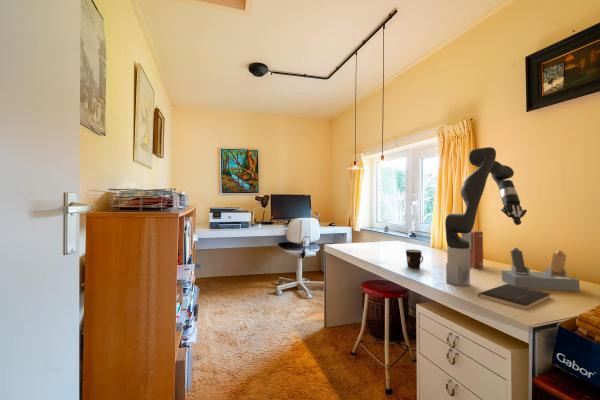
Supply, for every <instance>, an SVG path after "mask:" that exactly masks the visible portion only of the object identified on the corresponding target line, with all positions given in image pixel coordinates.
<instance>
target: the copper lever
mask: <svg viewBox="0 0 600 400" xmlns="http://www.w3.org/2000/svg"><path fill="white" fill-rule="evenodd" d="M566 260H567V254H565V252H563V251H562V250H556V252H555V253H552V260H551V265H550V269H552V275H561V276H563V271H564V269H565V265H566Z"/></svg>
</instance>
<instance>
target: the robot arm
mask: <svg viewBox="0 0 600 400" xmlns="http://www.w3.org/2000/svg"><path fill="white" fill-rule="evenodd" d="M496 158H497V152H496V149H495V147H491V146H488V147H487V146H486V147H480V148H474V149H472V150H470V152H469V154H468V161H469V163H470V164H471V165H472V166H474V167H477V169H475V170H474V171H473V172H471V174H469V175H468V176H467V177H466V178H465V179H464V180H463V181H464V182H463V184H462V187H461V189H460V195H461V197H462V199H463V202H464V203H465V206H466V208H465V211H464V213H452V212H451V213H449V214H447V215H446V218H445V222H444V223H445V224H444V225H445V239H446V243H447V244H446V247H447V248H446V249H447V253H446V258H447V259H446V260H447V262H446V265H445V267H446V269H445V270H446V272H445V274H446V277H445V279H446V283H447V284H450V285H454V286H457V287H467V286H470V284H471V280H470V279H471V276H470V275H471V274H470V273H471V272H470V271H471V269H470V268H471V267H470V244H469V242H468V241H466V240H464V239H462V238H461V237H460V235H459V234H461V233H465V234H467V233H470V232H471V231H472V230H474V226H475V223H476V222H475V221H476V218H477V214H478V208H479V204H480V202H481V199H482V196H483V192H484V191H485V187H486V184H487V180H488V177H489V175H490V174H491V179H493V181H494V182H495V183H496V185H497V187H498V189H499V194H500V198H501V201H502V205H503V206H502V208H501V209H500V211H501V213H503V214H504V215H506V216H507V218H511V219H512V222H513V223H514V225H516V226H520V225H521V224H522V221H521V219H522V218H523V217H525V215H526V213H527V212H528V210H527V209H523V207H522V206H521V200H520V197H519V195H518V192H517V190H516V188H515V187H516V186H515V185H514V182H513V180H510V178H513V176H514V175H515V173H514V172H515V171H514V169H513V168H512V167H511V166H508V165H505V164H502V163H501V162H499V161H497V160H496Z"/></svg>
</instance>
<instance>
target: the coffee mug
mask: <svg viewBox="0 0 600 400" xmlns="http://www.w3.org/2000/svg"><path fill="white" fill-rule="evenodd" d="M405 257H406V262H407V268H408V267H409V268H408V269H410V268H413V269H412V270H420V268H421V264H422V262H423V261H424V256H423V255H422V250H420V249H405Z"/></svg>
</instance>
